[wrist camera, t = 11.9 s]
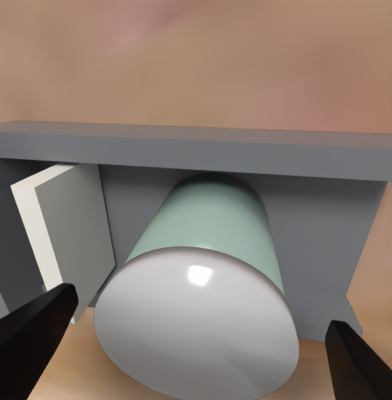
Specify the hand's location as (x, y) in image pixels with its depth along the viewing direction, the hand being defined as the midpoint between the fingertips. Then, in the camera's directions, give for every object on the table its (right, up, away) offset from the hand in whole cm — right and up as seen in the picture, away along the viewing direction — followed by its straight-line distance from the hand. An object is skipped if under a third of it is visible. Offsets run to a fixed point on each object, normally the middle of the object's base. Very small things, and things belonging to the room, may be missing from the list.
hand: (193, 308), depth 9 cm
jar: (+1, +2, +5) cm, 6 cm away
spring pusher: (-6, +3, +6) cm, 9 cm away
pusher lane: (0, +3, +6) cm, 6 cm away
